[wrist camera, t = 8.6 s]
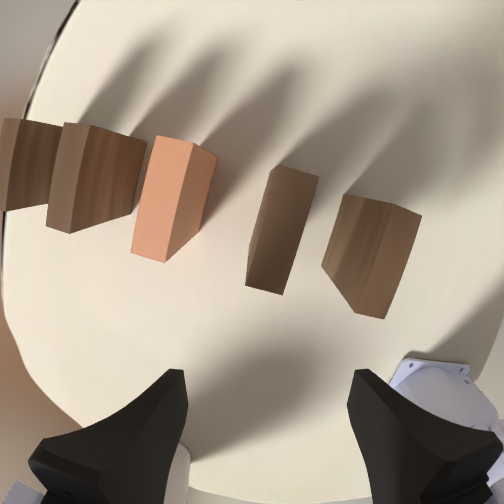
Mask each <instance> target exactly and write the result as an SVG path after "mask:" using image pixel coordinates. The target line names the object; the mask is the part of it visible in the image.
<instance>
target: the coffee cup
mask: <svg viewBox="0 0 504 504" xmlns="http://www.w3.org/2000/svg"><path fill="white" fill-rule="evenodd" d="M190 461H191V456H190V453H189V451H188V450H187V448H186V447H185V446H184V445H182V444H181V443H180V442H179V443H178V446H177V449H176V452H175V455H174V458H173V461H172V464H171V468H170V471H169V476H168V482H167V487H166V493H165V499H164V504H187V493H188V482H189V471H190Z"/></svg>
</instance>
